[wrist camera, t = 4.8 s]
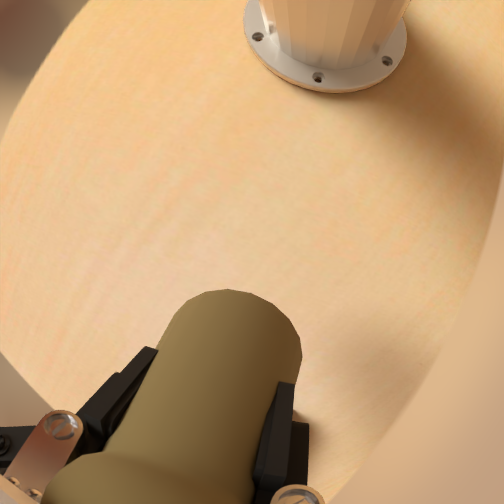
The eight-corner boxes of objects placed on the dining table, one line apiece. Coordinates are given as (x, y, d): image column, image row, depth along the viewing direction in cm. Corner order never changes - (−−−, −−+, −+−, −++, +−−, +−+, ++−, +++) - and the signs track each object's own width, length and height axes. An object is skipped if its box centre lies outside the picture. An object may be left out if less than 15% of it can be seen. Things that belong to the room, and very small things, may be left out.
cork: (180, 269, 12) (-51, 459, 2) (323, 315, 12) (336, 624, 1) (160, 379, 14) (37, 553, 3) (276, 419, 14) (233, 631, 3)
